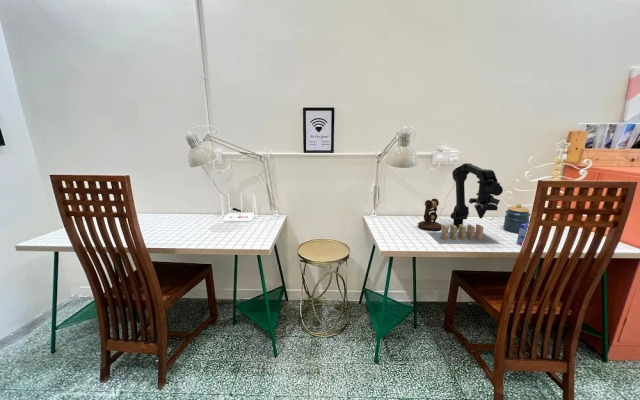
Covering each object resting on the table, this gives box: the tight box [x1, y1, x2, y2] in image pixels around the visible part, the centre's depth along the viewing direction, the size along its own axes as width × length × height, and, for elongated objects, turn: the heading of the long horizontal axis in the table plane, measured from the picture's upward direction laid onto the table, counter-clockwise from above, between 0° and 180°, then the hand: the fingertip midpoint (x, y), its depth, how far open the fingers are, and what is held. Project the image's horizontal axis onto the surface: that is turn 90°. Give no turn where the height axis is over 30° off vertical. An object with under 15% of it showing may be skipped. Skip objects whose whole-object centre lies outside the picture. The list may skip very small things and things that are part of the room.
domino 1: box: [441, 224, 450, 240], centre depth 157 cm, size 2×5×8 cm, turn 179°
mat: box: [426, 231, 501, 245], centre depth 160 cm, size 19×34×1 cm, turn 89°
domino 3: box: [457, 224, 467, 240], centre depth 157 cm, size 2×5×8 cm, turn 179°
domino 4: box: [466, 224, 476, 240], centre depth 157 cm, size 2×5×8 cm, turn 179°
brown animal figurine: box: [417, 197, 443, 232], centre depth 176 cm, size 15×15×20 cm
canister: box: [502, 203, 532, 234], centre depth 170 cm, size 13×13×18 cm
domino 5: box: [474, 223, 484, 240], centre depth 157 cm, size 2×5×8 cm, turn 178°
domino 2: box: [449, 224, 458, 240], centre depth 157 cm, size 2×5×8 cm, turn 179°
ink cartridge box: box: [516, 223, 529, 246], centre depth 147 cm, size 10×6×14 cm, turn 114°
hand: (480, 218), depth 155 cm, fingers closed
